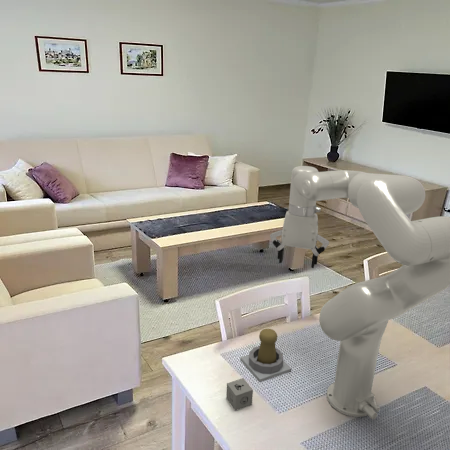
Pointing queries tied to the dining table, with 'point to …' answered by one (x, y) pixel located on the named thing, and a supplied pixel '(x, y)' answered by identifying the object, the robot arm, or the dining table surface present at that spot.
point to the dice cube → (239, 394)
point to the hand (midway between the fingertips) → (296, 263)
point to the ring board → (265, 376)
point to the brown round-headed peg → (267, 346)
